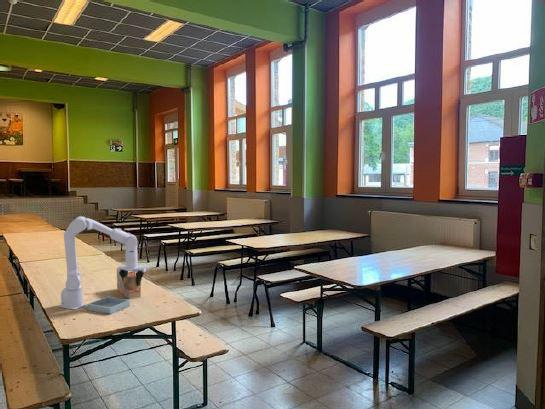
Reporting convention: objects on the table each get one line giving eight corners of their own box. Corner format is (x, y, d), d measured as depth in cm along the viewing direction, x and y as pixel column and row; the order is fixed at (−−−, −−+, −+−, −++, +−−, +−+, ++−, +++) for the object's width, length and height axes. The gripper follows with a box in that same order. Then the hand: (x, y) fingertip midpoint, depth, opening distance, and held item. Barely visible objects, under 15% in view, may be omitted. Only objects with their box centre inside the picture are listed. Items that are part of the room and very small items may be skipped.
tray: (87, 310, 199) (87, 304, 199) (107, 302, 211) (107, 296, 211) (110, 314, 194) (110, 308, 194) (129, 306, 206) (129, 300, 206)
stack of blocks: (141, 297, 220) (140, 274, 219) (129, 299, 217) (128, 276, 216) (128, 287, 237) (127, 266, 236) (116, 289, 234) (116, 267, 233)
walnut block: (123, 289, 211) (123, 277, 211) (131, 286, 217) (131, 274, 216) (132, 290, 209) (132, 278, 209) (140, 287, 214) (140, 276, 214)
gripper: (114, 259, 209) (114, 286, 210) (141, 261, 206) (141, 288, 208) (121, 256, 216) (122, 282, 217) (147, 258, 213) (148, 284, 214)
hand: (132, 285), depth 213 cm, fingers closed on walnut block, 6 cm apart
